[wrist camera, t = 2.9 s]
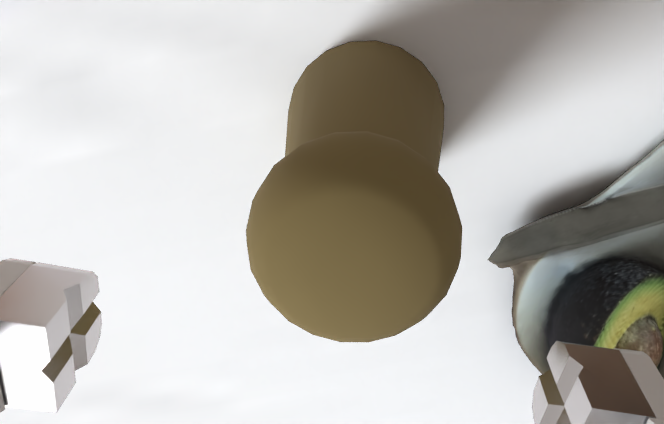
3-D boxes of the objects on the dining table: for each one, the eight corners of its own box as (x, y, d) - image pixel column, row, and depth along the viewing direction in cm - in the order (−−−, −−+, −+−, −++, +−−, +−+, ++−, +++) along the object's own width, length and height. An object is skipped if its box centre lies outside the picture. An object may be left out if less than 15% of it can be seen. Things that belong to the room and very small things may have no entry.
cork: (474, 82, 21) (549, 221, 12) (400, 212, 24) (410, 415, 14) (325, 11, 21) (269, 96, 11) (266, 154, 23) (179, 325, 14)
